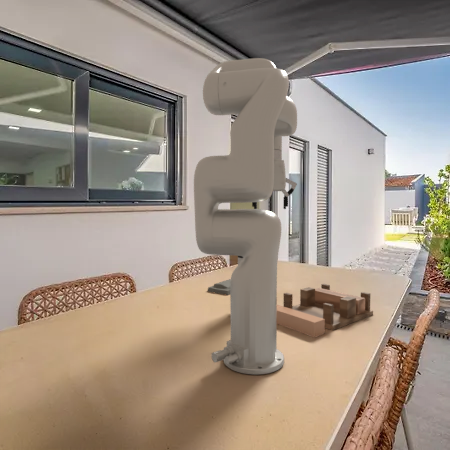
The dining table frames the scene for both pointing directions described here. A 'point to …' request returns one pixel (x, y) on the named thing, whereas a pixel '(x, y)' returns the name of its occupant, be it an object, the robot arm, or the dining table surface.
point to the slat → (300, 321)
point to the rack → (331, 305)
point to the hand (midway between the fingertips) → (270, 209)
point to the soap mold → (221, 287)
